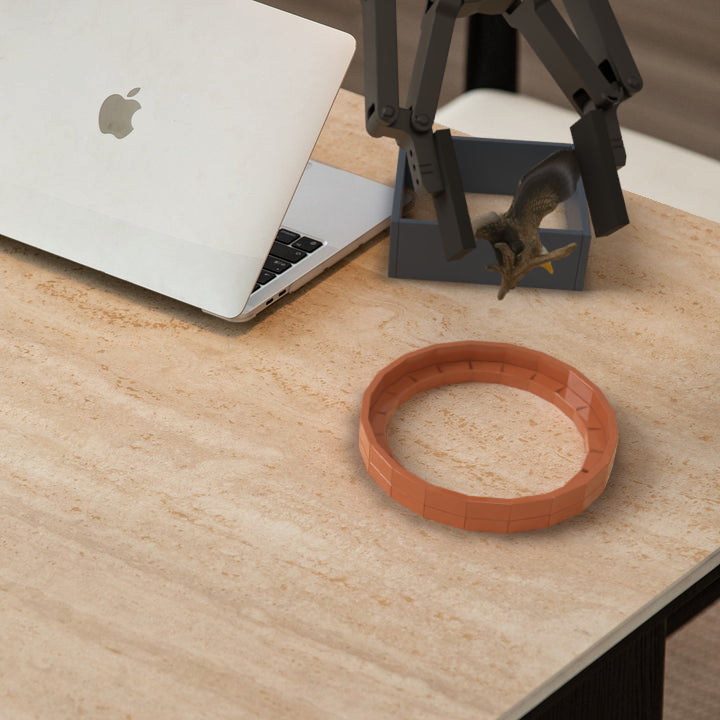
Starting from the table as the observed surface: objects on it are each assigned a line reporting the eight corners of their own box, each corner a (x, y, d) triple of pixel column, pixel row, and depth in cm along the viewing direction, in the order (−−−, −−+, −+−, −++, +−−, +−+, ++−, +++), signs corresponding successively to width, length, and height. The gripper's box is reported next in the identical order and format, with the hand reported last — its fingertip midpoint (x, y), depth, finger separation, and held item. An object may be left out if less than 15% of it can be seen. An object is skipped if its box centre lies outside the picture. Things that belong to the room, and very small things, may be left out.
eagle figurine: (607, 297, 67) (607, 192, 73) (551, 205, 63) (556, 101, 69) (482, 337, 71) (492, 233, 77) (421, 251, 67) (436, 149, 73)
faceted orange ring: (599, 386, 82) (606, 349, 81) (620, 552, 70) (629, 513, 68) (368, 368, 83) (370, 332, 81) (349, 530, 71) (350, 492, 69)
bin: (569, 204, 102) (579, 143, 99) (581, 300, 91) (591, 235, 87) (397, 192, 103) (400, 132, 99) (387, 286, 91) (390, 221, 88)
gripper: (588, -124, 76) (675, 233, 73) (253, -101, 70) (336, 287, 68) (646, -196, 69) (744, 196, 66) (278, -178, 63) (372, 254, 60)
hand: (538, 242), depth 67 cm, fingers closed on eagle figurine, 8 cm apart
